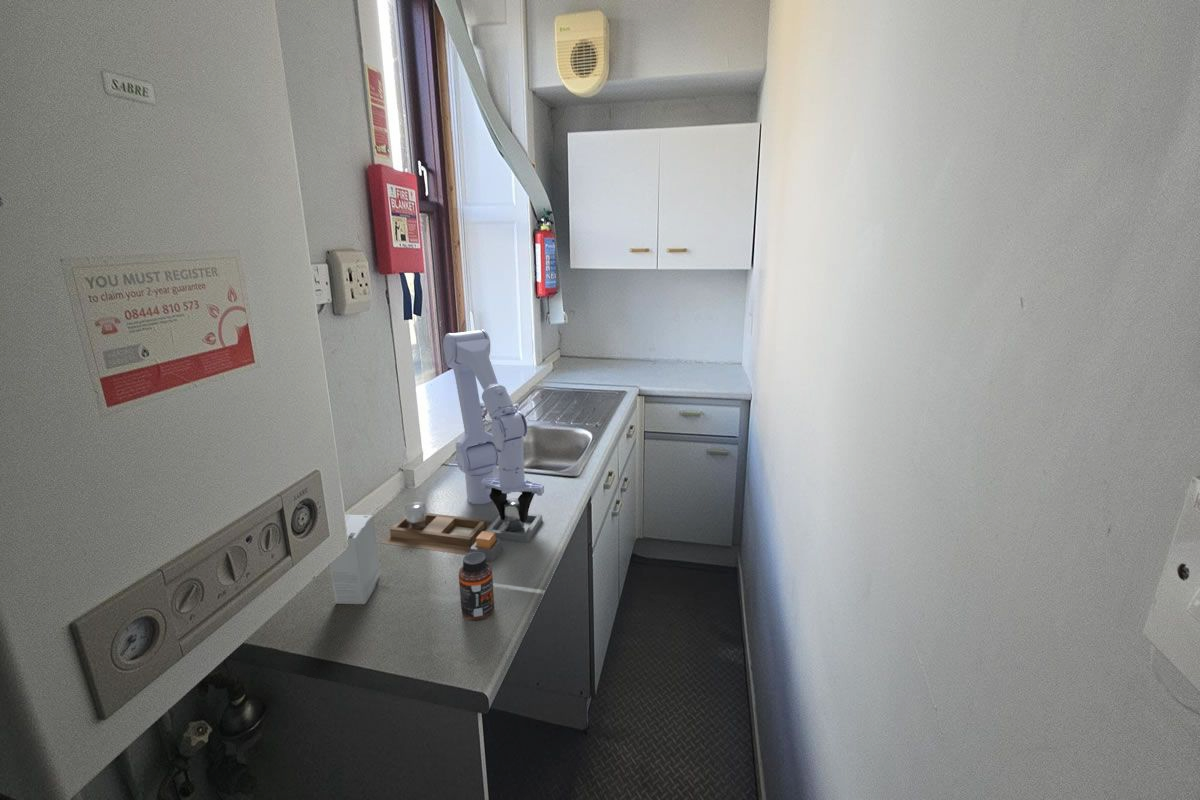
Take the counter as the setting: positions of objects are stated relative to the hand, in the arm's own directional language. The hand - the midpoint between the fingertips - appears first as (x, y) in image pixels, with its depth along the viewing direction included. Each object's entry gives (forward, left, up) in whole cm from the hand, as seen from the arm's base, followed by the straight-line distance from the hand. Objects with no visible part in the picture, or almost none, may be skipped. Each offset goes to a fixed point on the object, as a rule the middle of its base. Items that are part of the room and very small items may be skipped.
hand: (514, 519), depth 127 cm
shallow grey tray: (0, 0, -3) cm, 3 cm away
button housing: (+11, -2, -3) cm, 12 cm away
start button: (+11, -2, -1) cm, 11 cm away
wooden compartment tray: (+6, -16, -3) cm, 17 cm away
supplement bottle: (+28, +4, -3) cm, 28 cm away
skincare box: (+28, -21, -3) cm, 35 cm away
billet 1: (+6, -21, -2) cm, 22 cm away
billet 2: (0, 0, -2) cm, 2 cm away
